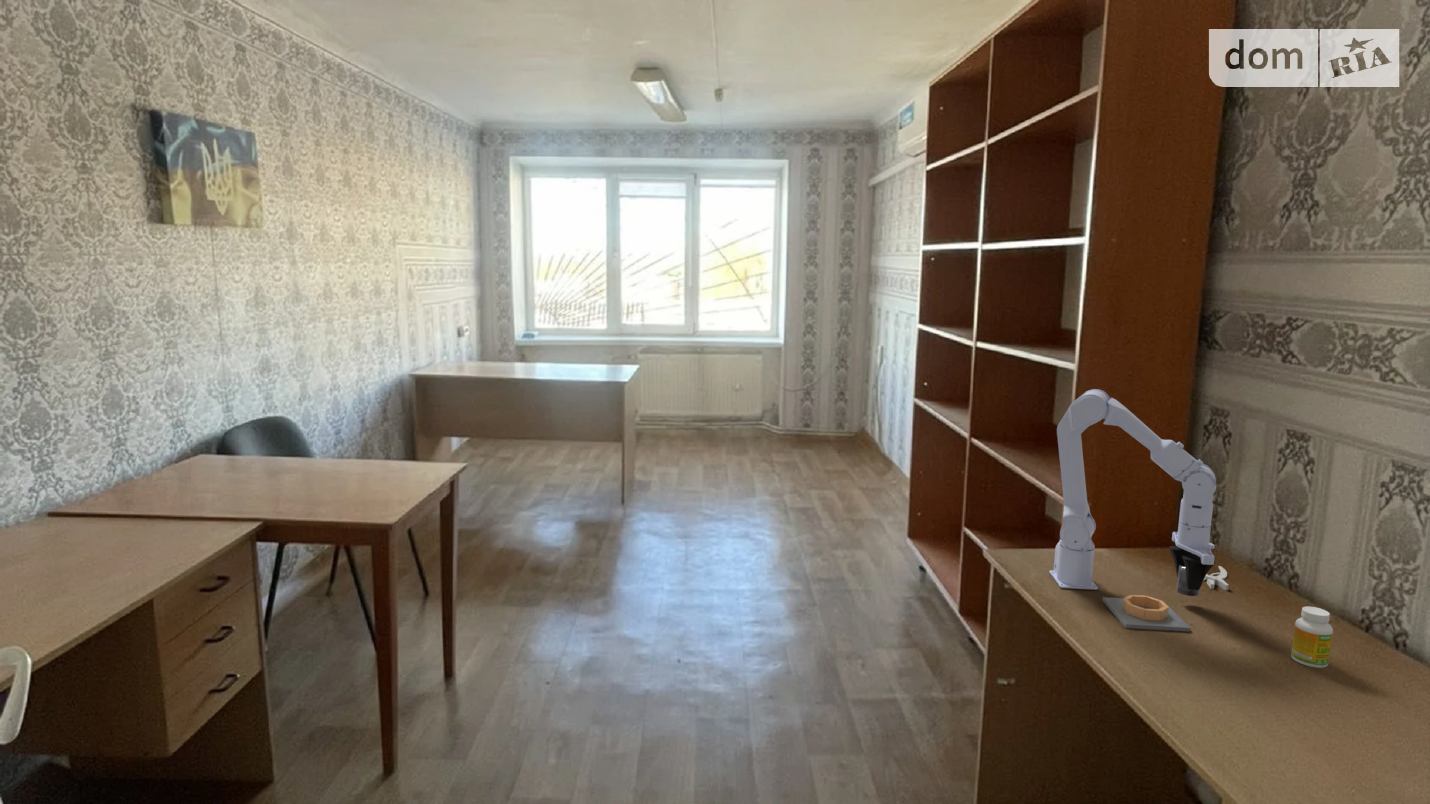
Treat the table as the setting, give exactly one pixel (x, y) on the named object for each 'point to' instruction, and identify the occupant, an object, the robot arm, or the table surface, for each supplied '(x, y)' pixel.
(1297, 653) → the supplement bottle
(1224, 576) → the pliers
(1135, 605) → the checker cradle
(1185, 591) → the cell
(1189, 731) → the table surface
